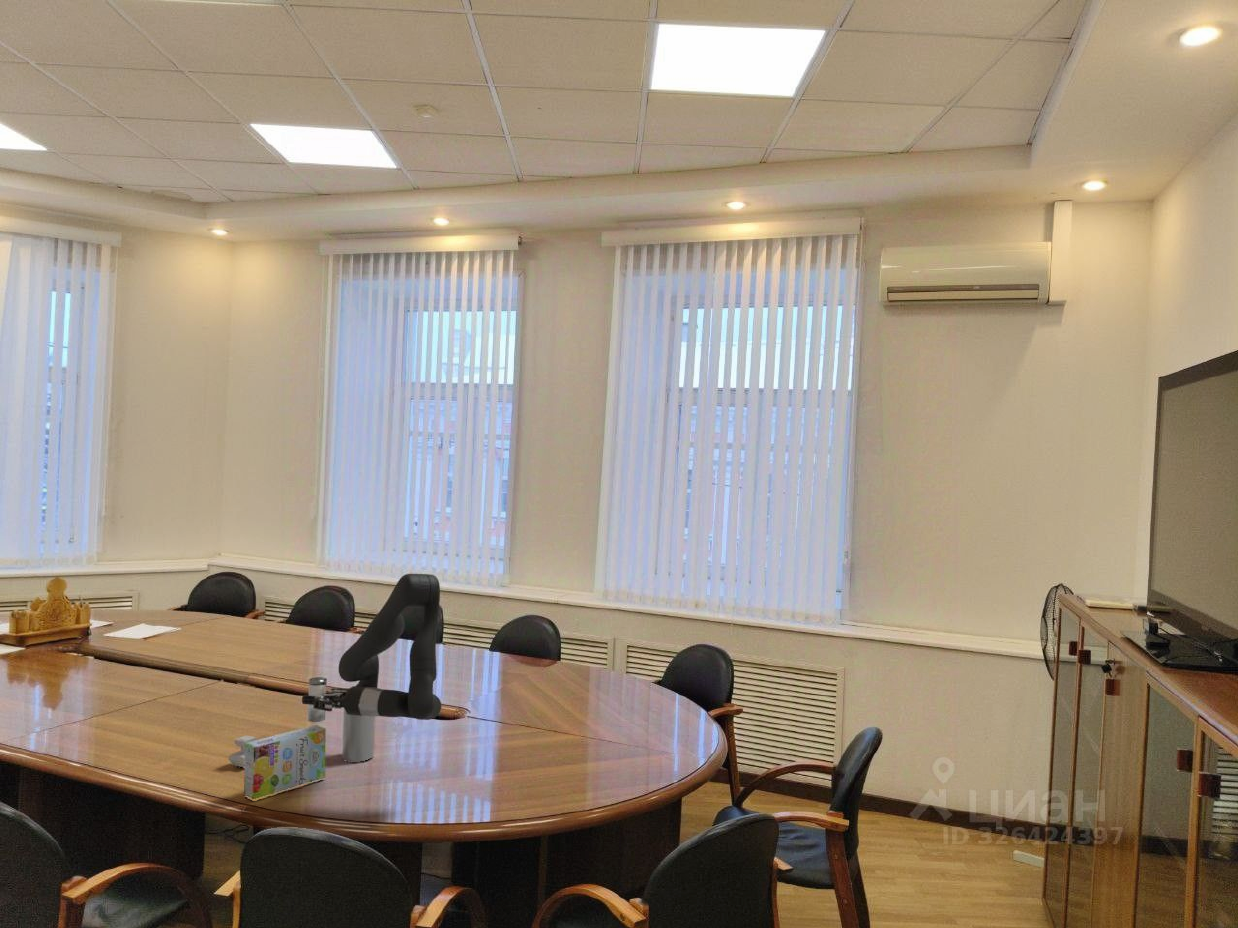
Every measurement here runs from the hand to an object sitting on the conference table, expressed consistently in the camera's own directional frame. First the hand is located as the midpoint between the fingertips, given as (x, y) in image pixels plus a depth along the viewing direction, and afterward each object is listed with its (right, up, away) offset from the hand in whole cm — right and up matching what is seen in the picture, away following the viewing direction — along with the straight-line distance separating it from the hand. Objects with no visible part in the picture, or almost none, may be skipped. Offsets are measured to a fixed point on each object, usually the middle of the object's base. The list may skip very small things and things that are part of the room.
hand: (307, 696), depth 224 cm
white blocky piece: (-26, -26, +19) cm, 41 cm away
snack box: (-8, -27, +4) cm, 28 cm away
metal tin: (+2, -6, 0) cm, 7 cm away
